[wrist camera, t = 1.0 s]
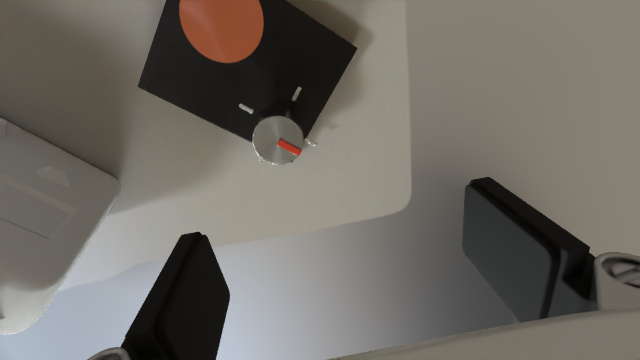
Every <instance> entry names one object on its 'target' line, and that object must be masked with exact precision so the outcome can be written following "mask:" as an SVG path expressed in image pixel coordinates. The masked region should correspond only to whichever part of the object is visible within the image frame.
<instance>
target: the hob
mask: <svg viewBox="0 0 640 360" xmlns="http://www.w3.org/2000/svg"><path fill="white" fill-rule="evenodd" d="M259 2H260V5H261V7H262V11H263V17H264V29H263V34H262V38H261V40H260V43H259V44H258V46H257V48H256V49H255V50H254V51H253V52H252V53H251V54H250V55H249V56H248V57H246V58H244V59H243V60H240V61H237V62H232V63H222V62H217V61H214V60H212V59H209V58H207V57H206V56H204V55H203V54H201V53H200V52H199V51H197V50H196V48H195V47H194V46H193V45H192V44H191V43H190V41H189V40H188V38H187V37H186V35H185V33H184V31H183V28H182V25H181V21H180V14H179V5H180V0H166V3H165V6H164V9H163V12H162V15H161V18H160V21H159V24H158V27H157V30H156V33H155V36H154V39H153V42H152V45H151V48H150V51H149V54H148V57H147V60H146V63H145V66H144V69H143V72H142V75H141V78H140V81H139V84H138V87H139V88H141V89H143V90H145V91H147V92H149V93H151V94H153V95H156V96H158V97H160V98H162V99H164V100H166V101H168V102H170V103H172V104H174V105H176V106H178V107H180V108H182V109H184V110H186V111H188V112H190V113H192V114H194V115H196V116H198V117H200V118H202V119H204V120H206V121H208V122H210V123H213V124H215V125H217V126H219V127H221V128H223V129H225V130H227V131H229V132H231V133H233V134H235V135H237V136H239V137H241V138H243V139H245V140H247V141H249V142H251V143H252V135H253V131H254V129H255V126H256V123H257V121H258V118H259V115H260V114H261V112H262V111H263V110H264V109H265V108H267V107H268V106H270V105H273V104H284V105H287V106H289V107H291V108H293V109H294V110H295V111H296V112H297V114H298V115H299V117H300V120H301V124H302V131H303V139H304V141H306V142H308V143H310V144H311V145H313V146H315V147H316V145H317V143H315V142H314V141H312V140H310V139H308V138H306V137H307V136H308V134H309V132H310V130H311V129H312V127H313V125H314V123H315V122H316V120H317V118H318V116H319V115H320V113H321V111H322V109H323V108H324V106H325V104H326V102H327V101H328V99H329V97H330V95H331V94H332V92H333V90H334V89H335V87H336V85H337V83H338V82H339V80H340V78H341V76H342V75H343V73H344V71H345V69H346V68H347V66H348V64H349V62H350V61H351V59H352V57H353V55H354V54H355V52H356V50H357V47H355V46H353V45H352V44H350V43H349V42H347V41H346V40H344V39H343V38H341V37H340V36H338V35H337V34H335V33H334V32H332V31H331V30H329V29H328V28H326V27H325V26H323V25H322V24H320V23H319V22H317V21H316V20H314V19H313V18H311V17H310V16H308V15H307V14H305V13H304V12H302V11H301V10H299V9H298V8H296V7H295V6H293V5H292V4H290V3H289V2H287V1H286V0H259ZM260 161H262V162H263V159H262V158H260ZM291 162H293V161H291Z"/></svg>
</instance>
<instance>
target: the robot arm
mask: <svg viewBox="0 0 640 360" xmlns="http://www.w3.org/2000/svg"><path fill="white" fill-rule="evenodd" d="M462 247H463V251H464V253H465V255H466V256H467V257H468V259H469V260H470V261H471V263H472V264H473V265H474V266H475V267H476V268H477V270H478V271H479V272H480V274H481V275H482V276H483V277H484V279H485V280H486V281H487V282H488V284H489V285H490V286H491V287H492V289H493V290H494V291H495V292H496V293H497V295H498V296H499V297H500V298H501V300H502V301H503V302H504V303H505V305H506V306H507V307H508V308H509V310H510V311H511V312H512V313H513V315H514V316H515V317H516V318H517V320H518V321H519V322H520V323H516V324H511V325H506V326H500V327H495V328H490V329H484V330H479V331H474V332H468V333H463V334H458V335H453V336H447V337H442V338H437V339H431V340H427V341H421V342H415V343H410V344H405V345H400V346H395V347H389V348H384V349H380V350H375V351H369V352H364V353H359V354H353V355H348V356H343V357H339V358H333V359H328V360H640V257H639V256H635V255H632V254H627V253H619V252H609V253H603V254H600V255H599V256H597V257H594V256H593V255H592V254H590V253H589V249H590V247H589V246H588V245H586V244H585V243H583V242H582V241H580V240H579V239H577V238H576V237H574V236H573V235H572V234H570V233H569V232H568V231H566V230H565V229H563V228H562V227H560V226H559V225H557V224H556V223H555V222H553V221H552V220H550V219H549V218H547V217H546V216H545V215H543V214H542V213H540V212H539V211H537V210H536V209H534V208H533V207H532V206H530V205H529V204H527V203H526V202H525V201H523V200H522V199H520V198H519V197H517V196H516V195H514V194H513V193H512V192H510V191H509V190H507V189H506V188H504V187H503V186H502V185H500V184H499V183H497V182H496V181H495V180H493V179H492V178H490V177H485V178H480V179H474V180H471V181H470V183H469V185H467V186H466V187H465V200H464V221H463V237H462ZM229 300H230V293H229V289H228V286H227V284H226V281H225V279H224V277H223V274H222V272H221V269H220V267H219V264H218V262H217V259H216V257H215V254H214V252H213V249H212V247H211V245H210V242H209V240H208V237H207V236H206V235H202V234H201V233H200V232H194V233H189V234H184V235H181V237H180V238H179V240H178V242H177V244H176V245H175V247H174V249H173V251H172V253H171V255H170V256H169V258H168V260H167V262H166V264H165V265H164V267H163V269H162V271H161V273H160V274H159V276H158V278H157V280H156V282H155V283H154V285H153V287H152V289H151V291H150V292H149V294H148V296H147V298H146V300H145V301H144V303H143V305H142V307H141V309H140V311H139V312H138V314H137V316H136V318H135V320H134V321H133V323H132V325H131V327H130V329H129V330H128V332H127V334H126V336H125V337H126V338H125V340H124V342H123V343H122V345H121V347H115V348H109V349H106V350H103V351H101V352H99V353H97V354H95V355H93V356H92V357H90V358H89V359H88V360H216V356H217V351H218V348H219V343H220V339H221V334H222V330H223V326H224V322H225V318H226V313H227V309H228V305H229Z"/></svg>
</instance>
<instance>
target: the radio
mask: <svg viewBox="0 0 640 360" xmlns="http://www.w3.org/2000/svg"><path fill="white" fill-rule="evenodd" d="M120 191H121V184H120V182H119V181H118V180H117V179H116V178H114V177H113V176H111V175H109V174H107V173H105V172H103V171H102V170H100V169H98V168H96V167H94V166H92V165H90V164H88V163H86V162H84V161H82V160H81V159H79V158H77V157H75V156H73V155H71V154H69V153H67V152H65V151H63V150H61V149H60V148H58V147H56V146H54V145H52V144H50V143H48V142H46V141H44V140H42V139H40V138H39V137H37V136H35V135H33V134H31V133H29V132H27V131H25V130H23V129H21V128H19V127H18V126H16V125H14V124H12V123H10V122H8V121H6V120H4V119H2V118H0V334H14V333H18V332H20V331H23V330H25V329H26V328H28V327H29V326H31V325H32V324H34V323H35V322H36V321H37V320H38V319H39V318H40V317H41V315H42V314H43V312H44V311H45V309H46V308H47V306H48V305H49V303H50V302H51V300H52V299H53V297H54V296H55V294H56V293H57V291H58V289H59V288H60V286H61V285H62V283H63V282H64V280H65V279H66V277H67V276H68V274H69V273H70V271H71V269H72V268H73V266H74V265H75V263H76V262H77V260H78V259H79V257H80V256H81V254H82V253H83V251H84V249H85V248H86V246H87V245H88V243H89V242H90V240H91V239H92V237H93V236H94V234H95V233H96V231H97V230H98V228H99V226H100V225H101V224H102V222H103V221H104V219H105V217H106V216H107V214H108V212H109V211H110V209H111V207H112V205H113V204H114V202H115V200H116V199H117V197H118V195H119V194H120Z"/></svg>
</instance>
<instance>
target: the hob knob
mask: <svg viewBox="0 0 640 360" xmlns="http://www.w3.org/2000/svg"><path fill="white" fill-rule="evenodd" d="M252 143H253V147H254V150H255V151H256V153H257V154H258V156H259V157H260V158H262V159H263V160H264V161H266V162H269V163H272V164H286V163H289V162H291V161H293V160H294V159H295V158H296V157H297V156H299V155H300V153H301V151H302V148H303V143H304V139H303V131H302V124H301V120H300V117H299V115H298V114H297V112H296V111H295V110H294V109H293V108H291V107H289V106H287V105H284V104H273V105H270V106H268V107H267V108H265V109H264V110H263V111H262V112H261V114H260V115H259V118H258V121H257V123H256V126H255V129H254V131H253V135H252Z"/></svg>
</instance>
